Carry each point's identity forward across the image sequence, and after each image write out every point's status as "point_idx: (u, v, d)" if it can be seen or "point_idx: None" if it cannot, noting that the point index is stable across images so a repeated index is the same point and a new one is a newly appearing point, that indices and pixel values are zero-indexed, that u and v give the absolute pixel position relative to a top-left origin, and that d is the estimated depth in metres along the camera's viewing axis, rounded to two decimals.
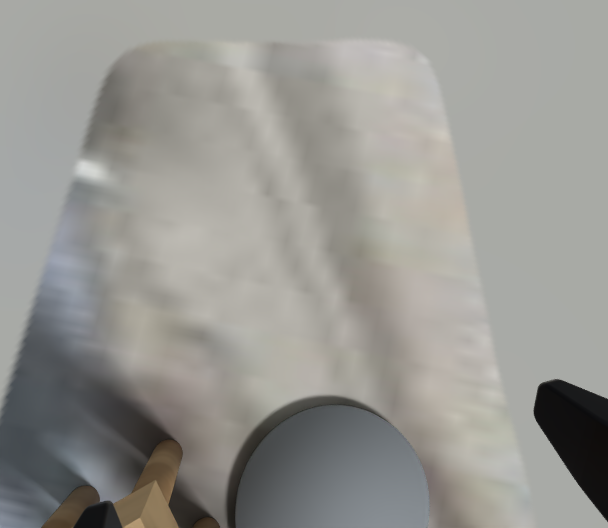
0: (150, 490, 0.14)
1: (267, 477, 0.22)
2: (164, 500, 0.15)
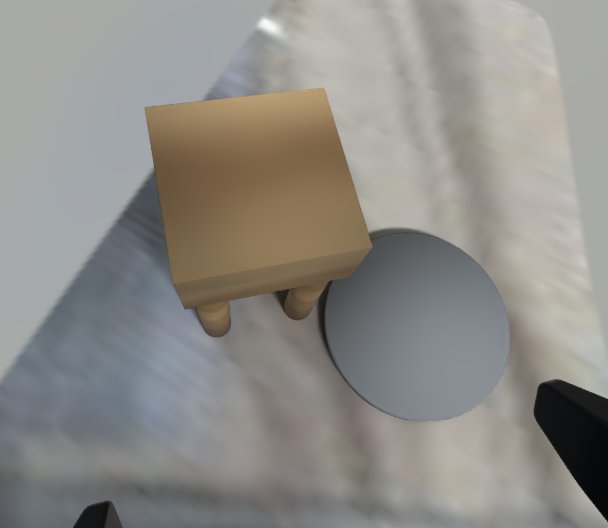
0: None
1: (362, 272, 0.24)
2: None
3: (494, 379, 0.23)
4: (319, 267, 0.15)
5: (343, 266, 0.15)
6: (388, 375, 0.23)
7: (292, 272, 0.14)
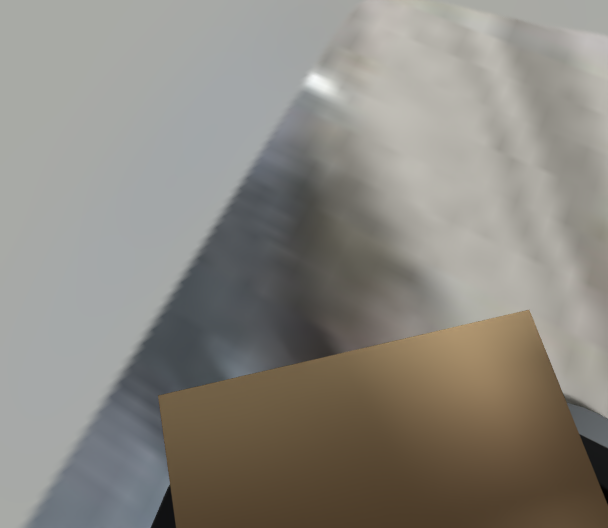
0: None
1: None
2: None
3: None
4: None
5: None
6: None
7: None
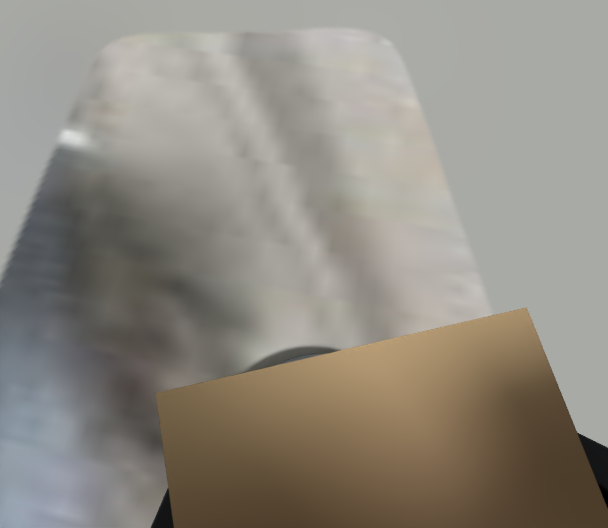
0: None
1: None
2: None
3: None
4: None
5: None
6: None
7: None
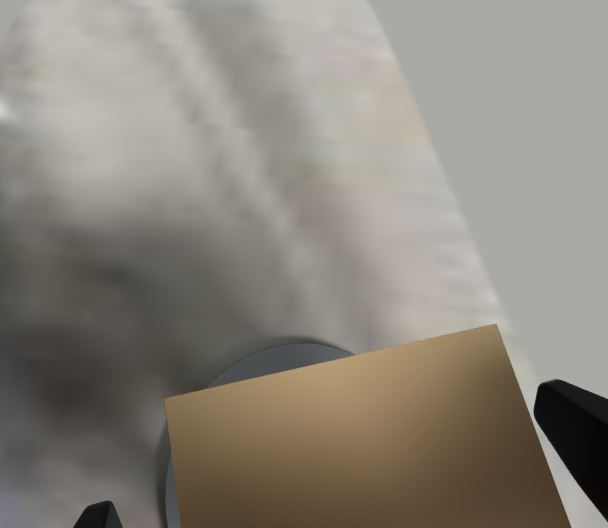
0: None
1: None
2: None
3: None
4: None
5: None
6: None
7: None
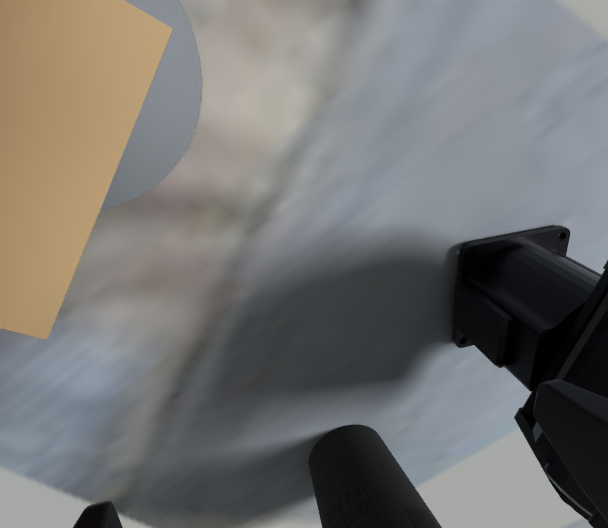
0: None
1: None
2: None
3: None
4: None
5: (159, 61, 0.08)
6: (126, 153, 0.17)
7: (121, 157, 0.09)
